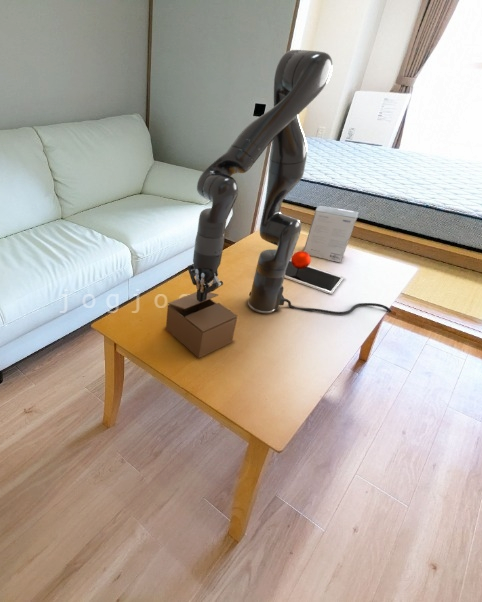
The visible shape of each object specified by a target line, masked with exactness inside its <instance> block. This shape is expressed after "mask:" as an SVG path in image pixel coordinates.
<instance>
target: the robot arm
mask: <svg viewBox="0 0 482 602" xmlns="http://www.w3.org/2000/svg"><path fill="white" fill-rule="evenodd" d="M332 72H333V59H332V57H331V55H330V54H329V53H327V52H325V51H319V50H306V49H305V50H304V49H291V50H287V51H286V52H285V53H284V54H283V55H282V56H281V57H280V59H279V60H278V63H277V65H276V69H275V72H274V78H273V107H271V108H270V109H269V110H268V111H266V112H265V113H263V114H262V115H261V116H258V117H257V118H256V119H254V120H253V121H252V122H250V123H248V125H247V126H246V127H245V128H244V129H243V130H242V131H241V132H240V133H239V134H238V135H237V137H236V138H235V140H234V141H233V143H232V144H231V145H230V146H229V148H228V149H227V151H226V152H224V153H223V154H222V155H221V156H219V157H218V158H217V159H216V160H215V161H214V162H212V163H211V164H210V165H209V166H208V167H207V168H206V169H204V171H203V172H202V173H201V174H200V176H199V177H198V179H197V184H196V191H197V194H198V196H200V197H201V198H203V199H205V200H207V201H209V202H211V207H208V208H205V209H203V210H202V211H201V212H200V213H199V216H198V221H197V222H198V223H197V232H196V236H195V241H194V248H193V257H192V263H193V264H189V265H187V270H188V273H189V276H190V279H191V283H192V285H193V286H195V287H196V292H197V295H196V296H197V300H198V301H199V302H203V301H205V300H206V298H207V293H209V292H211V293H213V292H214V291H215V290H218V289H219V288H220V287H222V286H223V285H224V281H222V280H220V279H219V278H218V276H219V271H218V269H219V267H220V266H221V262H222V256H223V251H224V244H225V232H226V225H227V221H228V218H229V216H230V214H231V212H232V210H233V208H234V205H235V203H236V201H237V199H238V195H239V185H238V182H237V180H236V178H234V177H232V176H233V175H235V174H245V173H247V172H248V171H249V170H250V169H251V168H252V167H253V166H254V164H255V163H256V162H257V160H259V158H260V157H261V155H262V154H263V153H264V151H265V150H266V149H267V147H268V146H269V145H271V147H270V154H269V162H268V171H267V185H266V193H265V200H264V204H263V209H262V215H261V218H260V224H259V236H260V238H261V239H262V240H263V241H265V242H268V243H270V244H272V245H274V246H276V247H277V248H276V249H275V248H274V249H273V248H270V249H269V248H268V249H264V250H263V251H261V252H260V253H259V255H258V258H257V259H258V260H257V264H256V267H255V273H254V276H253V281H252V285H251V289H250V292H249V295H248V296H249V298H248V301H247V306H248V307H249V309H250V310H252V311H253V312H255V313H258V314H262V315H263V314H264V315H266V314H267V315H268V314H272V313H274V312H278V310H279V307H280V306H284V305H285V302H286V303H287V305H288V307H289V308H291V309H294V310H299V311H305V312H320V313H324V314H330V315H347V314H350V313H351V312H353V311H354V310H355V309H356V308H358V307H367V306H368V307H369V306H371V307H379V308H382V309H385V310H386V311H387V312H388V313H393V311H392V309H391V308H389V307H388V306H386V305H385V304H381V303H376V302H361V303H356V304H354V305H353V306H352V307H351V308H350V309H348V310H344V311H335V310H334V311H333V310H327V309H321V308H316V307H315V308H314V307H311V308H310V307H297V306H295V305H292V302H291V300H289V299H287V298H285V296H284V295H283V293H284V290H285V288H284V286H283V284H284V280H285V278H284V277H285V274H286V270H287V267H288V264H289V261H290V260H291V259H292V256H293V255H294V253H295V249H296V246H297V243H298V240H299V237H300V235H301V231H302V223H301V220H299V219H298V218H294V217H292V216H289V215H286V214H283V213H282V212H281V211H282V204H283V201H284V199H285V198H286V196H287V195H288V194H289V193H290V192H291V191H292V190H293V189H294V188H295V187H296V186H297V185H298V183H300V181H301V180H302V178H303V176H304V174H305V169H306V165H307V159H308V144H307V140H306V137H305V133H304V130H303V128H302V125H301V122H300V117H299V115H300V114H301V113H302V112H303V110H305V109H306V108H307V107H308V106H309V105H310V104H311V103H312V102H313V101H314V100H315V99H316V98H317V97H318V96H319V95H320V94H321V92H322V91H323V90H324V89H325V87H326V86H327V85H328V83H329V81H330V78H331V76H332Z"/></svg>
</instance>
